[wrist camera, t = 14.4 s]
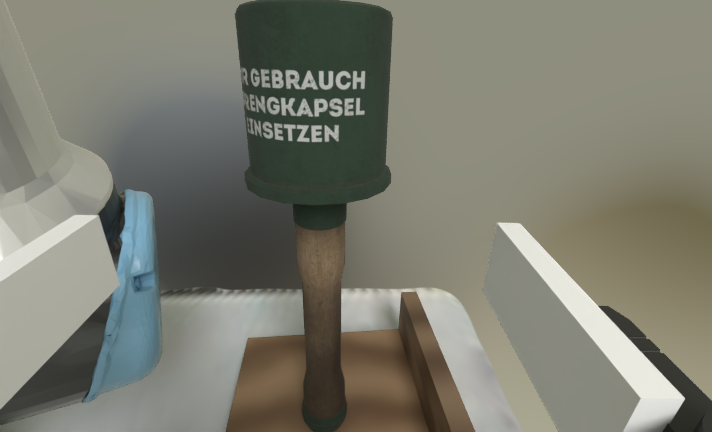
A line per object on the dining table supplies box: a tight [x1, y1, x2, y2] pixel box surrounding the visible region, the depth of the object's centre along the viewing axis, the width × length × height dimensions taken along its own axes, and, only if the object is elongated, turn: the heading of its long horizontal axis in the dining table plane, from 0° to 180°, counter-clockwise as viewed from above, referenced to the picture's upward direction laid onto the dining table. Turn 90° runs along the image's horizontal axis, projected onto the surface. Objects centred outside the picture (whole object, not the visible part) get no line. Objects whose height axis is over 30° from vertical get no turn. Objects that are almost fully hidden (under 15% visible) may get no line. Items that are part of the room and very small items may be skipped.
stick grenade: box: [235, 0, 393, 432], centre depth 24 cm, size 8×9×30 cm
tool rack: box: [226, 292, 475, 432], centre depth 30 cm, size 20×18×7 cm
